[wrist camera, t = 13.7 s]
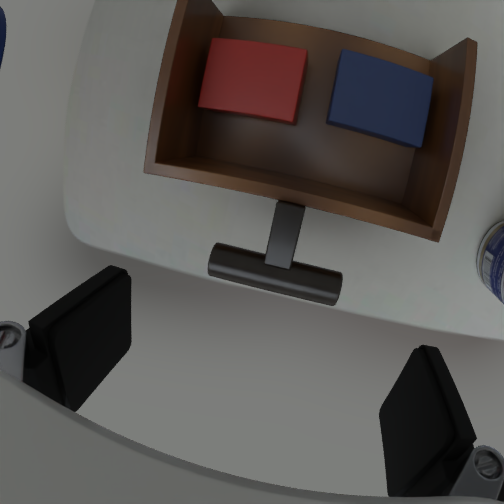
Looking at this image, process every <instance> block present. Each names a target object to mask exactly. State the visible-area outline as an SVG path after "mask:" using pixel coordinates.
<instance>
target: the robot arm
mask: <svg viewBox="0 0 504 504" xmlns="http://www.w3.org/2000/svg"><path fill="white" fill-rule="evenodd" d="M29 327H30V328H29V329H27V330H26V331H25V329H24V327H23V326H22V325H20V324H19V323H16V322H13V321H4V322H0V504H504V458H503V456H502V455H501V454H500V453H499V452H498V451H497V450H496V449H494V448H492V447H490V446H486V445H482V446H478V447H476V448H474V446H473V443H474V441H475V440H476V439H477V437H476V435H475V432H474V429H473V427H472V424H471V422H470V419H469V417H468V414H467V411H466V409H465V407H464V404H463V402H462V400H461V397H460V395H459V393H458V390H457V388H456V385H455V383H454V381H453V379H452V377H451V374H450V372H449V370H448V368H447V366H446V363H445V362H444V359H443V357H442V355H441V353H440V351H439V349H438V348H437V347H432V346H427V345H421V346H420V347H419V348H416V349H414V350H413V352H412V353H411V355H410V357H409V359H408V361H407V363H406V365H405V366H404V368H403V370H402V372H401V374H400V376H399V377H398V379H397V381H396V382H395V384H394V386H393V388H392V389H391V391H390V393H389V395H388V396H387V398H386V399H385V401H384V403H383V404H382V406H381V408H380V412H379V419H380V426H381V434H382V442H383V450H384V459H385V469H386V479H387V492H388V496H389V497H375V496H357V495H344V494H334V493H325V492H317V491H310V490H302V489H297V488H291V487H285V486H280V485H274V484H269V483H265V482H260V481H255V480H251V479H247V478H243V477H239V476H235V475H231V474H227V473H224V472H220V471H217V470H213V469H210V468H206V467H203V466H200V465H197V464H194V463H191V462H187V461H185V460H182V459H179V458H176V457H173V456H170V455H168V454H165V453H162V452H160V451H157V450H155V449H152V448H149V447H147V446H145V445H142V444H140V443H137V442H135V441H133V440H130V439H128V438H126V437H124V436H121V435H119V434H117V433H115V432H112V431H111V430H108V429H106V428H104V427H102V426H100V425H98V424H96V423H94V422H92V421H90V420H88V419H86V418H84V417H82V416H81V415H79V414H77V413H75V412H76V411H77V410H78V409H79V408H80V407H81V406H82V404H83V403H84V402H85V401H86V399H87V398H88V397H89V396H90V395H91V394H92V392H93V391H94V390H95V389H96V388H97V386H98V385H99V384H100V383H101V382H102V381H103V379H104V378H105V377H106V376H107V375H108V374H109V372H110V371H111V370H112V369H113V368H114V367H115V365H116V364H117V363H118V362H119V361H120V360H121V358H122V357H123V356H124V355H125V354H126V353H127V351H128V350H129V348H130V346H131V277H130V276H129V275H128V273H127V271H126V270H125V269H122V268H119V267H116V266H112V265H110V266H108V267H106V268H105V269H103V270H102V271H100V272H99V273H97V274H96V275H94V276H93V277H91V278H90V279H88V280H87V281H85V282H84V283H82V284H81V285H79V286H78V287H76V288H75V289H73V290H72V291H71V292H69V293H68V294H66V295H65V296H63V297H62V298H60V299H59V300H58V301H56V302H55V303H53V304H52V305H50V306H49V307H48V308H46V309H45V310H43V311H42V312H41V313H39V314H38V315H37V316H35V317H34V318H32V319H31V320H30V321H29Z"/></svg>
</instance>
